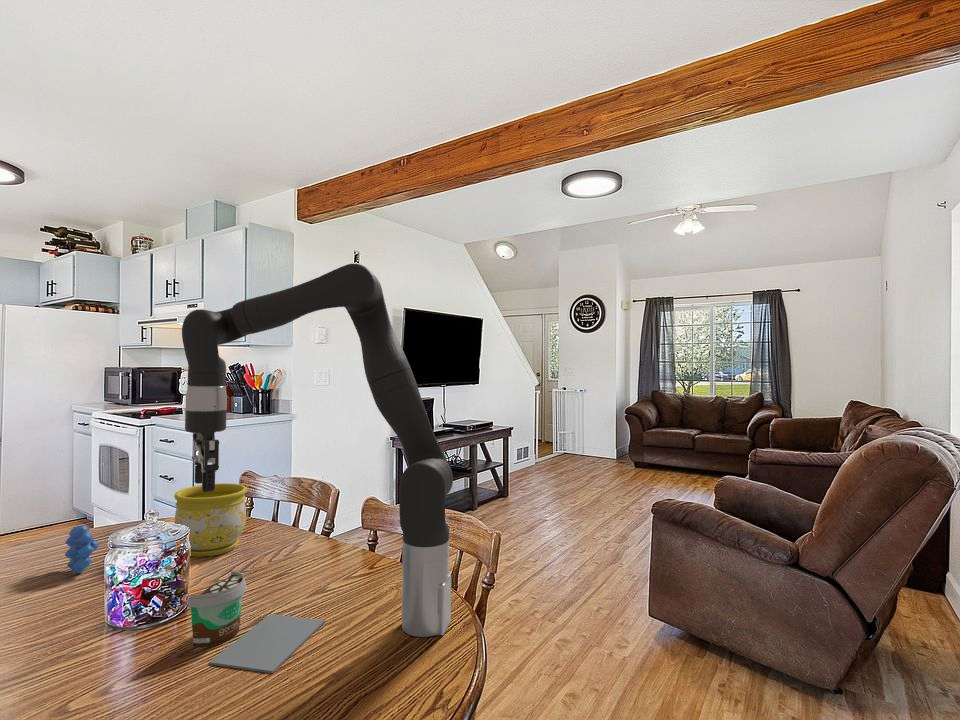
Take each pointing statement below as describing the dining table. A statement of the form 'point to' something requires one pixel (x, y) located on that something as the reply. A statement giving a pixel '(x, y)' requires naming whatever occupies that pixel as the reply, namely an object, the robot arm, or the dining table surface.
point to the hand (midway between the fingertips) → (204, 486)
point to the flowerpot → (212, 517)
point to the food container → (217, 611)
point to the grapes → (80, 548)
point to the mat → (268, 643)
